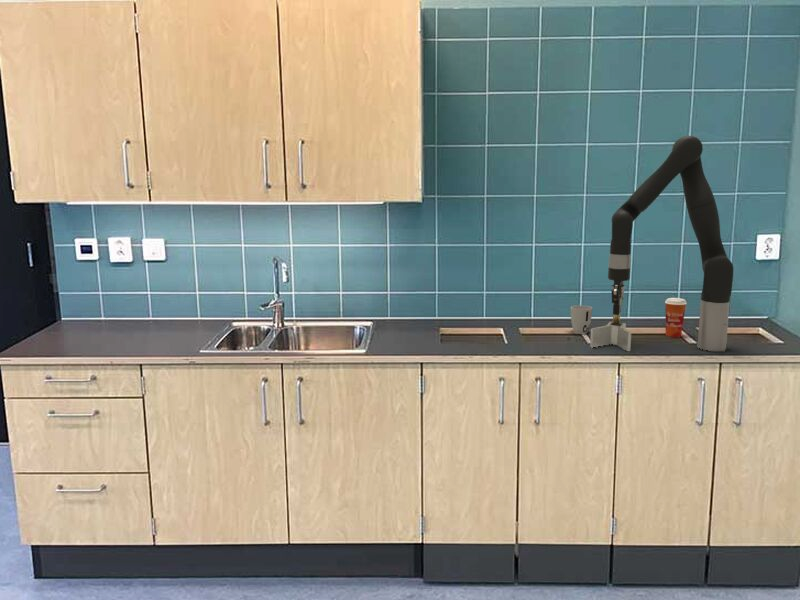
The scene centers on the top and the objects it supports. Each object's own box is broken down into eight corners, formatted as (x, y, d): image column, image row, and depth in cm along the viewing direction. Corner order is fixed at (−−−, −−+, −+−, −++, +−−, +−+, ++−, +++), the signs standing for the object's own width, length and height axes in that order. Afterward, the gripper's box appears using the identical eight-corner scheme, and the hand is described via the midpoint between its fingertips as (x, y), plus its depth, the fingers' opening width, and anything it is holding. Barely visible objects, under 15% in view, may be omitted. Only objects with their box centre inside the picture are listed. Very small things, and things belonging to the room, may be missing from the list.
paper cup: (661, 336, 272) (663, 300, 269) (664, 332, 279) (666, 296, 276) (683, 338, 268) (685, 302, 266) (685, 334, 275) (688, 298, 273)
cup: (586, 336, 273) (587, 310, 272) (566, 333, 278) (567, 307, 276) (594, 332, 280) (595, 306, 278) (574, 329, 285) (575, 304, 283)
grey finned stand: (636, 343, 262) (637, 324, 261) (629, 352, 250) (631, 332, 248) (597, 339, 268) (598, 320, 267) (589, 348, 256) (590, 328, 254)
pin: (621, 322, 262) (623, 287, 260) (620, 324, 259) (622, 289, 257) (612, 321, 264) (614, 286, 261) (610, 323, 261) (612, 288, 258)
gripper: (627, 269, 250) (624, 318, 253) (633, 264, 262) (630, 311, 265) (605, 268, 253) (602, 316, 256) (612, 263, 265) (609, 309, 269)
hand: (616, 313), depth 261 cm, fingers closed on pin, 2 cm apart
